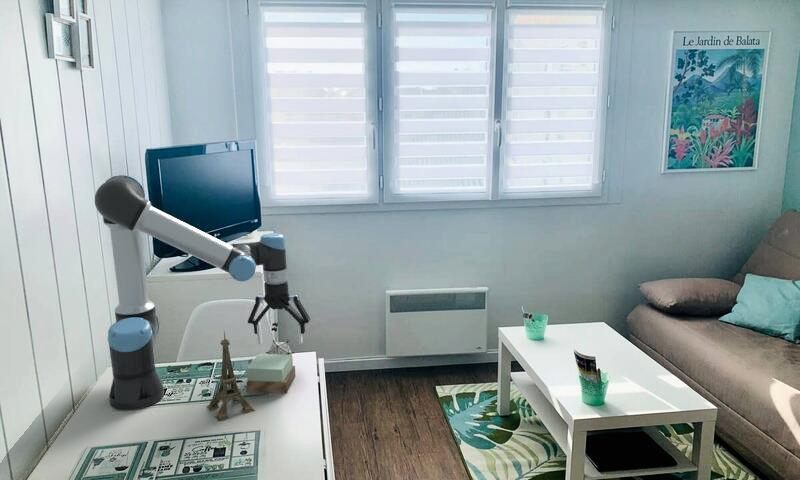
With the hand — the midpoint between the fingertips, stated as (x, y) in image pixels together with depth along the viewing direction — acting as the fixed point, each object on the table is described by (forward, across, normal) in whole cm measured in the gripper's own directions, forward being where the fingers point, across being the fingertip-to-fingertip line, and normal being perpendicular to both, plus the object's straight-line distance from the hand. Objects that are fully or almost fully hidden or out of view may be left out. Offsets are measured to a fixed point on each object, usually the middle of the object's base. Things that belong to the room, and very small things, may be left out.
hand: (280, 342), depth 216 cm
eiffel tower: (+8, -8, -31) cm, 33 cm away
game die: (+8, 0, 0) cm, 8 cm away
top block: (+4, 0, -15) cm, 16 cm away
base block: (+8, 0, -15) cm, 17 cm away
